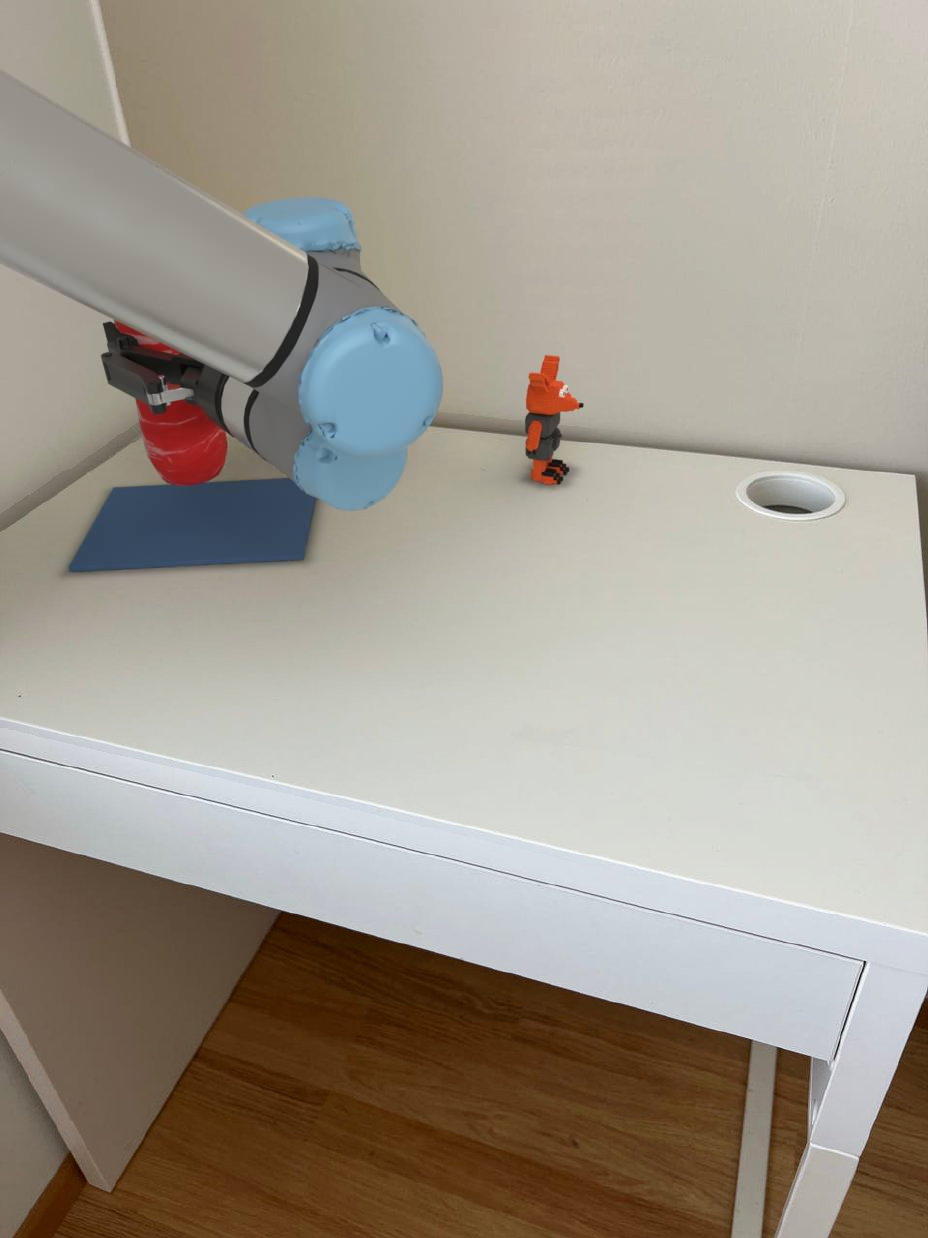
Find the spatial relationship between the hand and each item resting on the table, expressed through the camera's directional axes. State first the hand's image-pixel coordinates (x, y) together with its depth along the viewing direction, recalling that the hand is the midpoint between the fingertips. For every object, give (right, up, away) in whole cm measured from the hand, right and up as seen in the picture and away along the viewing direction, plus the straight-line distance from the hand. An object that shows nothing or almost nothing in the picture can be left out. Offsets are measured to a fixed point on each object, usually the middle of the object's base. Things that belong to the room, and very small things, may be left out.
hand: (151, 326), depth 93 cm
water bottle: (+4, -13, +5) cm, 15 cm away
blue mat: (+3, -17, +8) cm, 19 cm away
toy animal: (+39, -12, +12) cm, 42 cm away
